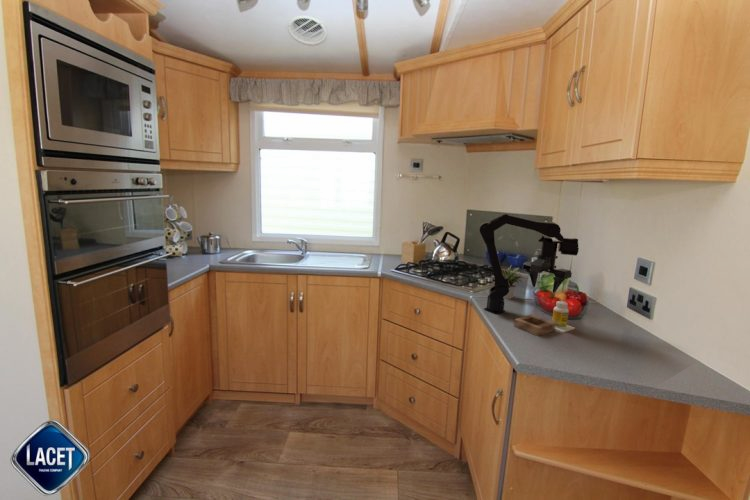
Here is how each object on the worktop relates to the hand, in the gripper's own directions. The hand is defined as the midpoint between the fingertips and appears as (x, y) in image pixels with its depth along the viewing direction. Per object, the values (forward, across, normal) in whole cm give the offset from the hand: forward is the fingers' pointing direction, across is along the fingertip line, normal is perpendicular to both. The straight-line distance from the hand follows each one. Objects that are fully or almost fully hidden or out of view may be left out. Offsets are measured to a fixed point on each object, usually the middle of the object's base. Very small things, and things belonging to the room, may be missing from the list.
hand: (543, 289), depth 156 cm
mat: (+12, +11, -4) cm, 17 cm away
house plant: (+12, -25, +9) cm, 29 cm away
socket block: (+12, +7, -14) cm, 20 cm away
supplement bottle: (+12, +11, -4) cm, 16 cm away
